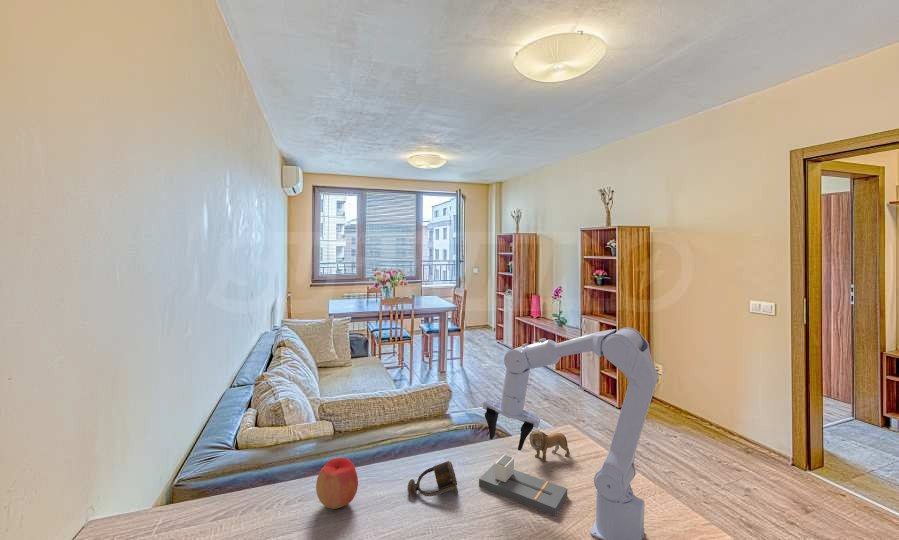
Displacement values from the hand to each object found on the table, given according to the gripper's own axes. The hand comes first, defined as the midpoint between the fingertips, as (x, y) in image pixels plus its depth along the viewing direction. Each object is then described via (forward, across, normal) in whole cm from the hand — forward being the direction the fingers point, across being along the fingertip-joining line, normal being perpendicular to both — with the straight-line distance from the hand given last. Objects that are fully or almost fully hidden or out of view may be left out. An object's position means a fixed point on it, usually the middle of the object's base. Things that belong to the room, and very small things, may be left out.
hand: (505, 442), depth 99 cm
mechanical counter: (+14, +14, +10) cm, 22 cm away
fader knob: (+9, -1, 0) cm, 9 cm away
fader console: (+10, -6, +1) cm, 12 cm away
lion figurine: (+11, -9, -18) cm, 23 cm away
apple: (+16, +31, +26) cm, 43 cm away
